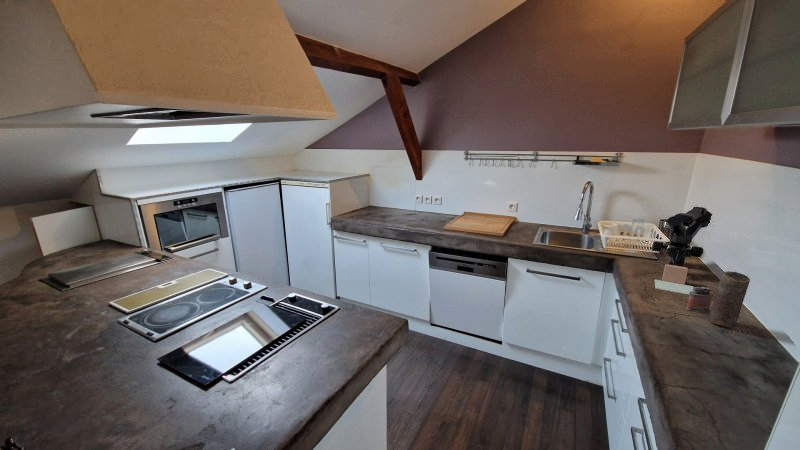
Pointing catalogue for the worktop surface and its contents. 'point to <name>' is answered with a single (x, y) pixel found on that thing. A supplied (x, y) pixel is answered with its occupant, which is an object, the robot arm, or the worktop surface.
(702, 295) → the lighter
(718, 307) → the rusty brown metal cylinder
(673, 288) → the mat
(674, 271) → the block
